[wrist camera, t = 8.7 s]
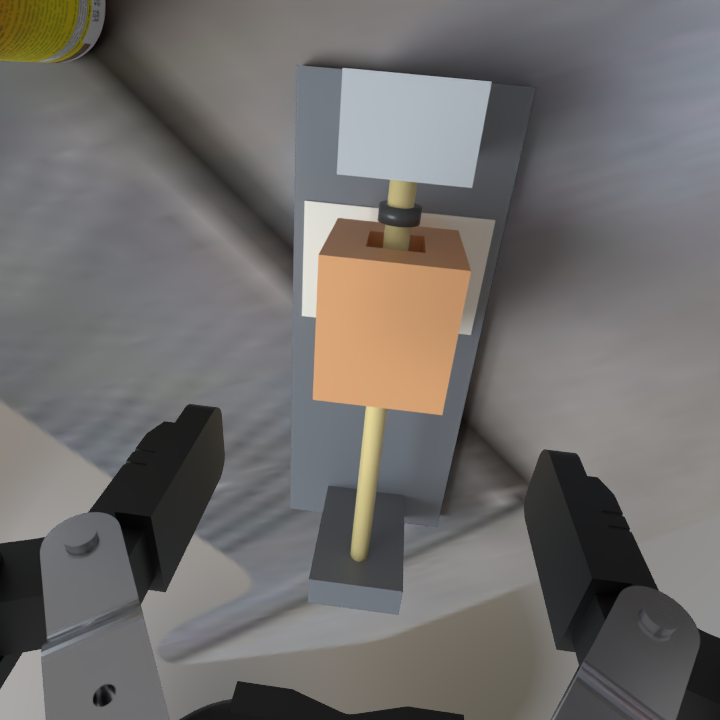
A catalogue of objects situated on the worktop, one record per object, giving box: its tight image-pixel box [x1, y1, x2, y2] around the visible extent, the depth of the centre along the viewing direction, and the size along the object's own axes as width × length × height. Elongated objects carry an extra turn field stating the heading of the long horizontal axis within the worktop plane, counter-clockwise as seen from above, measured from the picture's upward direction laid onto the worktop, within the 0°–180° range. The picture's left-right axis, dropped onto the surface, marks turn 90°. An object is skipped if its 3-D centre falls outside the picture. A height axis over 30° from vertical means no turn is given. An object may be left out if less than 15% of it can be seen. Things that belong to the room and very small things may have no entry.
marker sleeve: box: [313, 218, 471, 415], centre depth 21 cm, size 6×5×5 cm
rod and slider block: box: [290, 65, 536, 615], centre depth 25 cm, size 26×10×8 cm, turn 175°
